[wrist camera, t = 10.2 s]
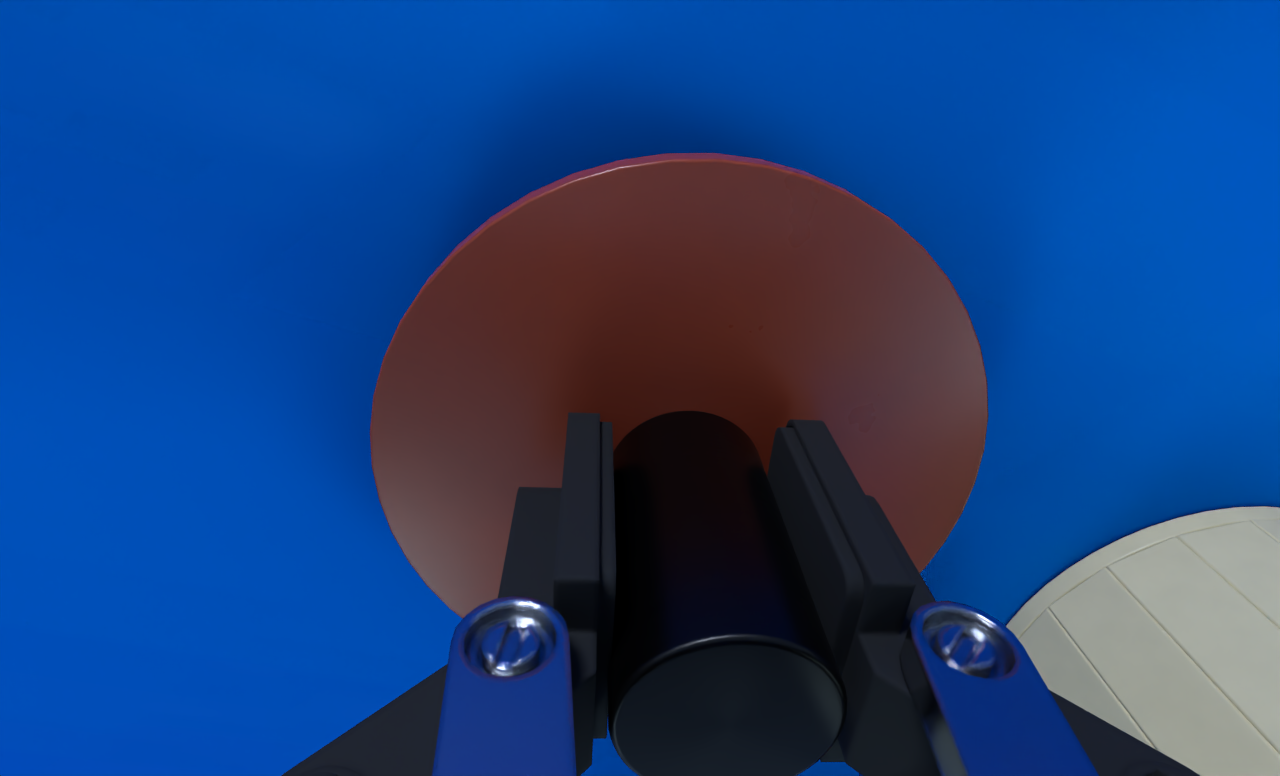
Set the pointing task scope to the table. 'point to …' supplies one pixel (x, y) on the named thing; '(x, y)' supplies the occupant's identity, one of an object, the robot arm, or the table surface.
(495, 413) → the lid
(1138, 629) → the canister
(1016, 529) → the table surface
